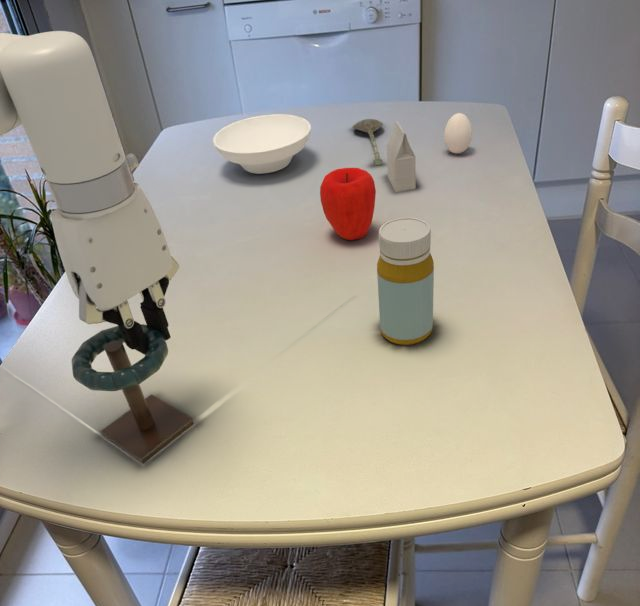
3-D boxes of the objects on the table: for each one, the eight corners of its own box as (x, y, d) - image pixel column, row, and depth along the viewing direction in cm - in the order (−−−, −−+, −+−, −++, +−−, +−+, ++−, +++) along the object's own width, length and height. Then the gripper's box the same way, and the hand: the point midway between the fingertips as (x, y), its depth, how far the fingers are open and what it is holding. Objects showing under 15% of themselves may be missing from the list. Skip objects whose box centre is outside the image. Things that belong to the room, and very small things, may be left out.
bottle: (370, 331, 88) (363, 230, 78) (409, 310, 91) (407, 209, 80) (403, 354, 84) (401, 250, 74) (443, 332, 86) (446, 228, 76)
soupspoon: (381, 127, 142) (352, 132, 143) (380, 110, 140) (350, 116, 141) (394, 163, 126) (361, 169, 126) (393, 146, 124) (358, 152, 124)
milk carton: (395, 192, 117) (394, 136, 110) (387, 177, 122) (385, 122, 115) (415, 189, 117) (415, 132, 110) (407, 174, 122) (406, 119, 115)
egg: (448, 146, 129) (449, 107, 124) (474, 148, 127) (476, 109, 122) (439, 157, 126) (440, 118, 121) (466, 159, 124) (468, 119, 119)
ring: (58, 372, 72) (50, 358, 71) (131, 324, 77) (126, 310, 76) (112, 407, 66) (106, 393, 65) (188, 354, 72) (183, 339, 70)
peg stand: (103, 436, 79) (62, 353, 70) (153, 400, 83) (120, 316, 74) (143, 464, 75) (105, 379, 66) (194, 424, 79) (165, 338, 70)
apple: (314, 240, 108) (306, 177, 101) (347, 218, 112) (342, 156, 105) (355, 254, 103) (350, 189, 96) (388, 230, 108) (386, 166, 100)
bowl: (305, 186, 123) (300, 150, 119) (208, 189, 127) (200, 154, 122) (322, 145, 137) (318, 111, 132) (234, 149, 141) (227, 116, 136)
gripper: (135, 147, 67) (182, 298, 80) (-4, 213, 59) (73, 369, 72) (182, 160, 63) (223, 317, 76) (40, 232, 55) (113, 394, 68)
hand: (149, 341), depth 73 cm, fingers closed on ring, 2 cm apart
